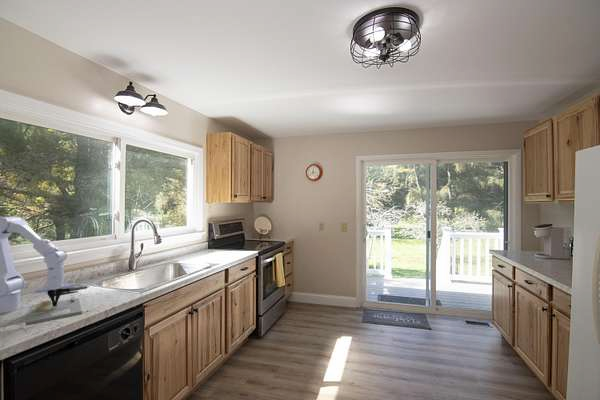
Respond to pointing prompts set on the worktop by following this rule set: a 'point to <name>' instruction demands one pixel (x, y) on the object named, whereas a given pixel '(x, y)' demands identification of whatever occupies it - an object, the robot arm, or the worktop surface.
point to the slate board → (46, 315)
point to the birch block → (43, 306)
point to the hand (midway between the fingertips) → (54, 305)
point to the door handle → (72, 290)
